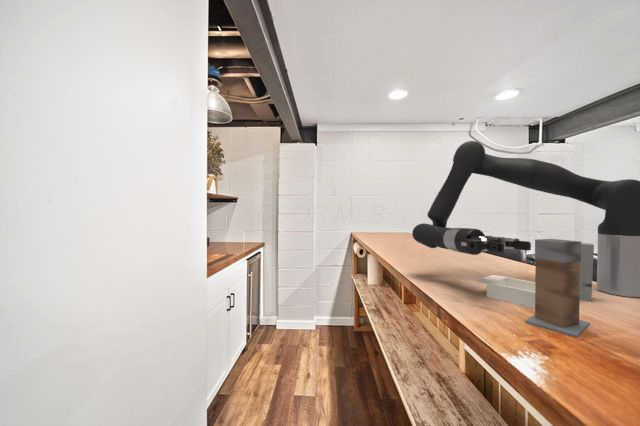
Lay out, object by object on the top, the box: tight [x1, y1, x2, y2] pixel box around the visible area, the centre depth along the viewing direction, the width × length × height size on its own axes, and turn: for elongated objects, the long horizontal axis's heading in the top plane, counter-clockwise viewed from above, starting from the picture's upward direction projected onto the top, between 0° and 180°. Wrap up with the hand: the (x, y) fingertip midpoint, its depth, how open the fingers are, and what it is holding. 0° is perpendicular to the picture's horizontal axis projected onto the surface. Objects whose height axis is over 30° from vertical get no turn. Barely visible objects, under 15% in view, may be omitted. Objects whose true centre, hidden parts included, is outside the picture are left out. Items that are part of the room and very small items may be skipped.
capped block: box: [534, 238, 582, 328], centre depth 55 cm, size 5×5×17 cm
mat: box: [524, 314, 590, 339], centre depth 55 cm, size 10×8×1 cm
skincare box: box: [579, 241, 595, 303], centre depth 73 cm, size 8×7×16 cm
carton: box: [474, 274, 535, 310], centre depth 70 cm, size 11×17×4 cm, turn 35°
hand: (516, 247), depth 64 cm, fingers open, 8 cm apart
